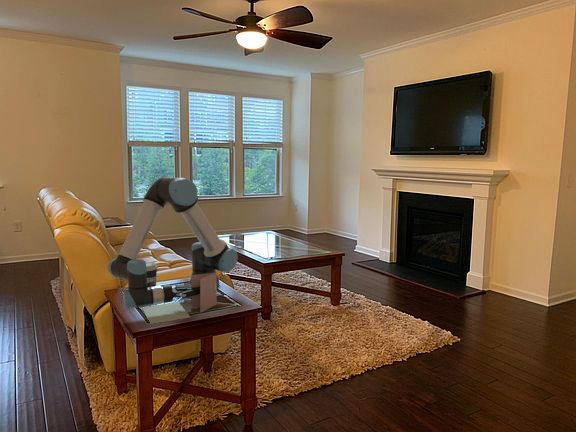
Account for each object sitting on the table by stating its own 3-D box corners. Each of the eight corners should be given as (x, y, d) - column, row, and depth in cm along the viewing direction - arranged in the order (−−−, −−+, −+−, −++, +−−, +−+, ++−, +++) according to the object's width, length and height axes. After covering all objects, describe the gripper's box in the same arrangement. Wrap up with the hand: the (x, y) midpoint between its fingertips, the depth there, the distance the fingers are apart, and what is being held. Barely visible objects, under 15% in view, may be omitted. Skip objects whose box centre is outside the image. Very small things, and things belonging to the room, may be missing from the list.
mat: (142, 308, 196) (142, 307, 196) (178, 303, 203) (178, 302, 203) (150, 324, 178) (150, 323, 178) (189, 317, 186) (189, 316, 185)
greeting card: (216, 303, 202) (216, 271, 200) (221, 309, 195) (221, 276, 193) (191, 307, 197) (190, 274, 194) (195, 313, 190) (195, 279, 188)
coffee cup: (142, 298, 209) (141, 267, 207) (135, 293, 216) (133, 263, 214) (162, 294, 215) (160, 264, 213) (154, 290, 222) (152, 260, 220)
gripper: (159, 298, 195) (211, 290, 206) (165, 307, 184) (220, 298, 194) (158, 281, 194) (211, 274, 205) (165, 289, 183) (220, 282, 193)
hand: (215, 286), depth 200 cm, fingers closed
